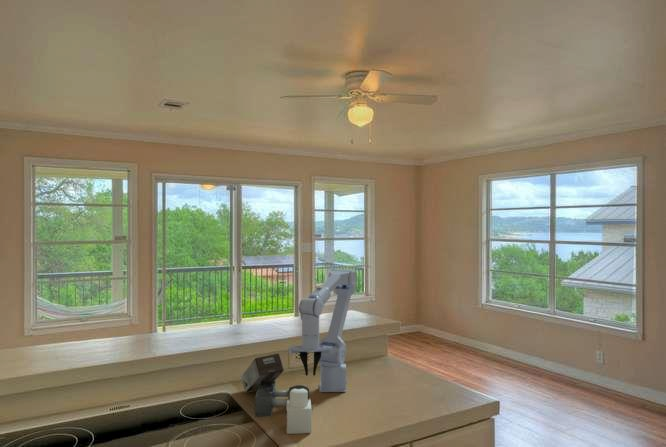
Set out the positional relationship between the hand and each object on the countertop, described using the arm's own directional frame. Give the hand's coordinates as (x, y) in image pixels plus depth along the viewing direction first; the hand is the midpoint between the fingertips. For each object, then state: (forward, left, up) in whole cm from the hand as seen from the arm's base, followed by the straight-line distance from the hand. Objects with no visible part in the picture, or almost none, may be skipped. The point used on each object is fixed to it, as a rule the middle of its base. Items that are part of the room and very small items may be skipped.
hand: (310, 374), depth 151 cm
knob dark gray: (+9, 0, -8) cm, 12 cm away
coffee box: (+21, -13, -7) cm, 25 cm away
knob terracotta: (+9, +7, -8) cm, 14 cm away
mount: (+15, +3, -9) cm, 18 cm away
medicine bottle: (+3, +18, -10) cm, 21 cm away
